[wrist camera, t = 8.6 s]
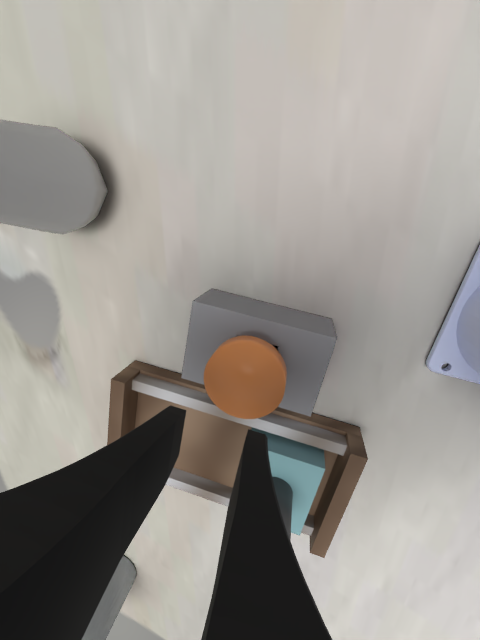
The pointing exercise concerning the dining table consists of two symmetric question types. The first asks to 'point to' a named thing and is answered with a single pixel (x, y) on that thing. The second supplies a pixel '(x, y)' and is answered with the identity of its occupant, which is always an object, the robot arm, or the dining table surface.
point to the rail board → (237, 443)
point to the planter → (111, 601)
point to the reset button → (246, 377)
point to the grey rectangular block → (270, 325)
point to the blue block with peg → (294, 477)
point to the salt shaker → (47, 179)
